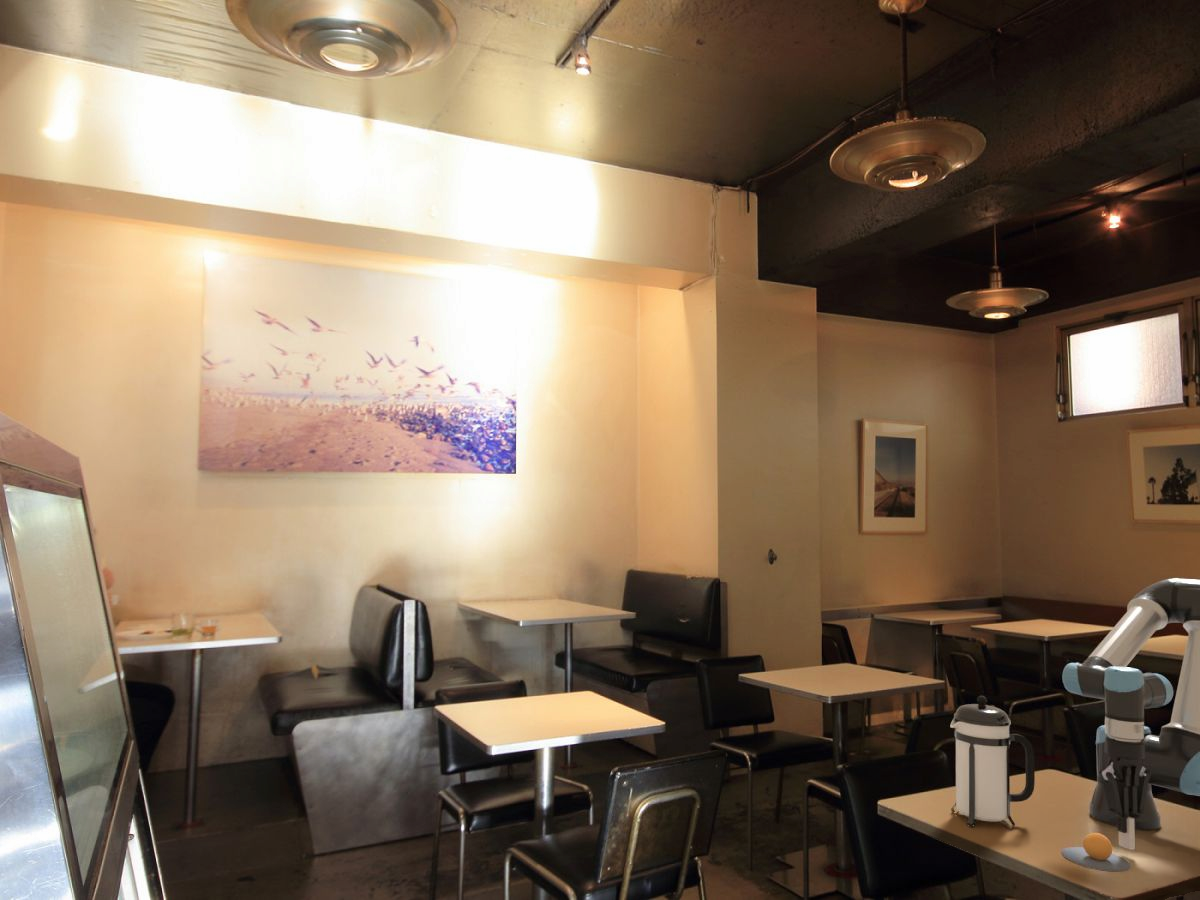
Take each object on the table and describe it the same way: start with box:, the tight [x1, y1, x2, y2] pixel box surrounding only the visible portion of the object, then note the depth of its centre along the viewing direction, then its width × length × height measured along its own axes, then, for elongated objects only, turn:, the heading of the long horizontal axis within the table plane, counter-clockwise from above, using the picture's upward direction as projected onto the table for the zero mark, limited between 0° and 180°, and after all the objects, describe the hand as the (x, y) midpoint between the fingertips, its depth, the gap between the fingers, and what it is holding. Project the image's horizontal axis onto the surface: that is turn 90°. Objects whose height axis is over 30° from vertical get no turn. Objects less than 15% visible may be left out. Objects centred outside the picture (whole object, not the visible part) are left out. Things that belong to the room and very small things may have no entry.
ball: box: [1082, 832, 1113, 860], centre depth 184 cm, size 6×6×6 cm
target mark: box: [1061, 846, 1132, 872], centre depth 184 cm, size 13×13×1 cm
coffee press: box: [950, 695, 1036, 830], centre depth 208 cm, size 17×16×30 cm
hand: (1126, 846), depth 187 cm, fingers closed
